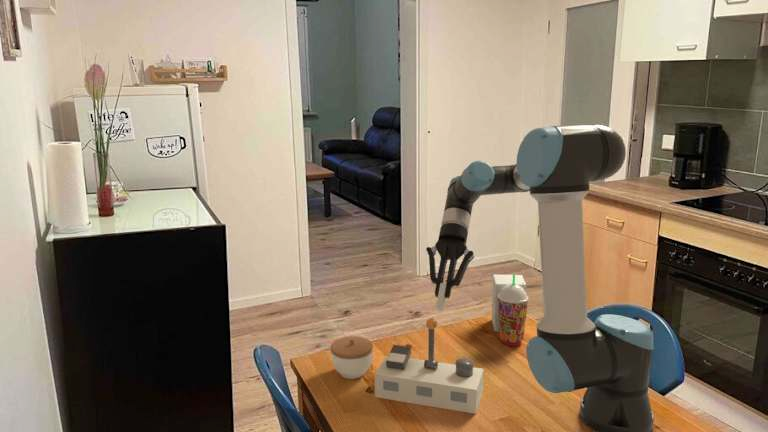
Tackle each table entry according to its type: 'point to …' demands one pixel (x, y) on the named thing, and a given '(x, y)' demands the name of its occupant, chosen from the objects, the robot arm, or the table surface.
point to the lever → (431, 345)
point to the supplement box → (498, 284)
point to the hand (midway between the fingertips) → (439, 308)
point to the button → (464, 367)
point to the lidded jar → (352, 356)
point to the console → (430, 386)
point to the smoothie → (512, 313)
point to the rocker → (398, 357)
